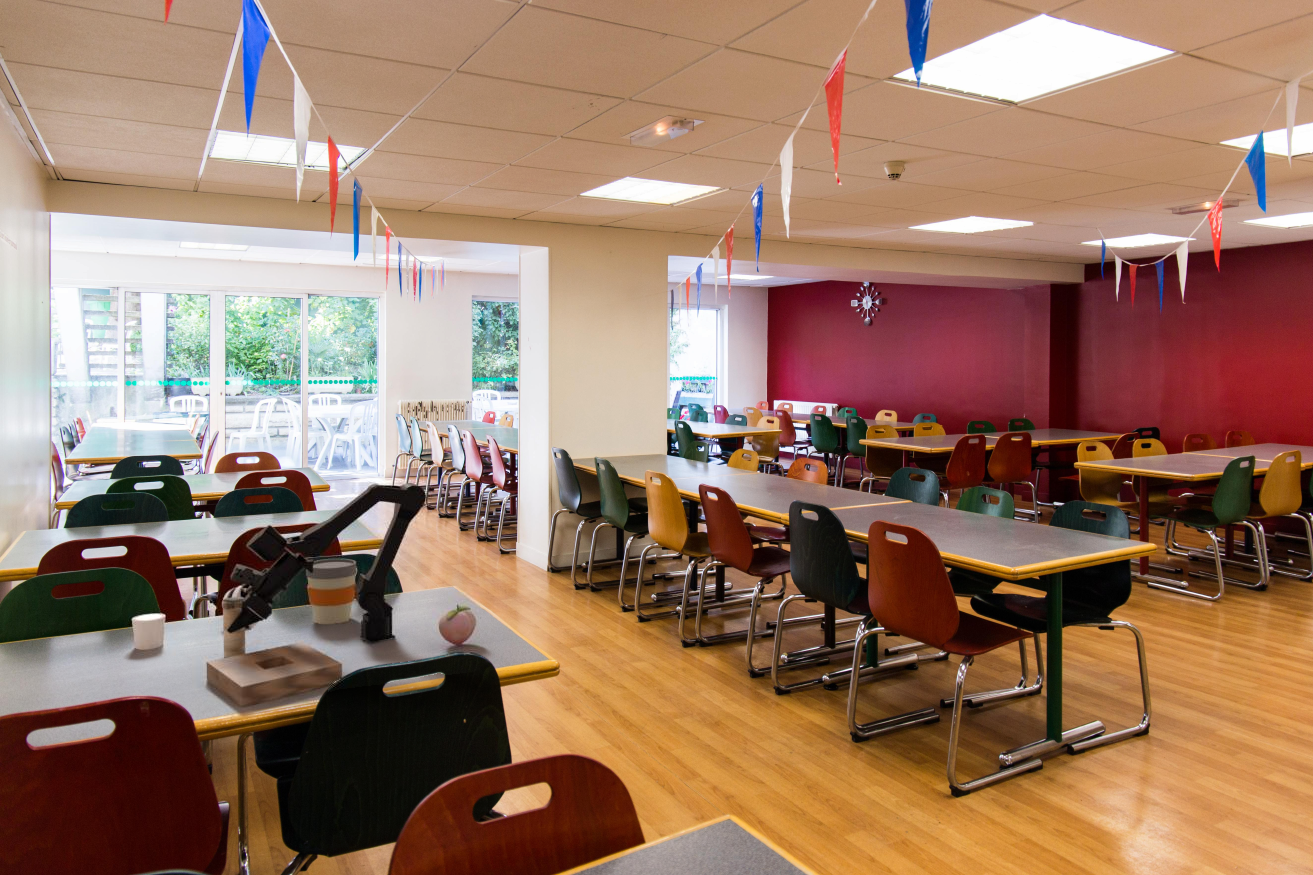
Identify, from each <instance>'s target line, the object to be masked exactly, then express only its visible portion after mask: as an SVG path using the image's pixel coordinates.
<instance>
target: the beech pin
mask: <svg viewBox="0 0 1313 875" xmlns="http://www.w3.org/2000/svg"><path fill="white" fill-rule="evenodd" d="M243 600H244V598H243V597H231V598H226V599H224V600H223V599H222V601H223V607H222V614H223V617H222V618H223V619H222V620H223V622H222V623H223V624H222V627H223V628H222V629H223V658H227V657H232V656H237V655H242V654H246V627H244V628H242V629H240V630H237V631H235V632H233V633H229V632H228V631H227V629H228V628H229V626H230V625H231V624H232V622H233V621H234V619H235V618H236V617H237V615H238V614H239V613H240V611H241V610H242V601H243Z"/></svg>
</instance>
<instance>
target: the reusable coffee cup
mask: <svg viewBox="0 0 1313 875" xmlns="http://www.w3.org/2000/svg"><path fill="white" fill-rule="evenodd" d="M313 561H314V564H313V573H310V572H309V571H308V570H307V569H306V571H305V572H306V573H305V576H306V577H307V582H308V584H307V594H308V602H309V604H310V605H311V610H312V611H311V612H312V616H313V623H315V624H317V623H318V625H336V624H335V623H338V624H343V623H346V622H349V621H350V620H349V619H351V613H352V605H353V601H355V590H354V589H353V588H354V587H355V586H356V584H357V583H356V575H357V573H358V569H357V561H356V560H353V559H350V558H349V559H348V558H327V559H325V558H324V559H319V560H313ZM345 621H346V622H345ZM342 622H343V623H342Z"/></svg>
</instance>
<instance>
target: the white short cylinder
mask: <svg viewBox="0 0 1313 875" xmlns="http://www.w3.org/2000/svg"><path fill="white" fill-rule="evenodd" d="M131 622H132V624H131V625H132V632H133V639H134V644H135V649H136V650H142V651H143V650H147V651H148V650H154V649H157V648H161V647H163V646H164V640H165V638H164V637H165V629H166V628H165V625H166V614H164V613H157V612H156V613H145V614H139V615H136V616H133V617H132V618H131Z"/></svg>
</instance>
